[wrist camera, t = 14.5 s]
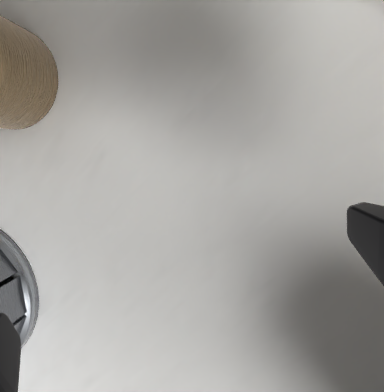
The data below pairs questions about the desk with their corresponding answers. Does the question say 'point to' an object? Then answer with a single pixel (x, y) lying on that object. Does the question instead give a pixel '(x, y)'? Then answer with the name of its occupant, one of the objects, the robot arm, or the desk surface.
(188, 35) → the desk surface
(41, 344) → the desk surface
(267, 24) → the desk surface
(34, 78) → the canister
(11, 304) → the sleeve
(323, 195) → the desk surface
